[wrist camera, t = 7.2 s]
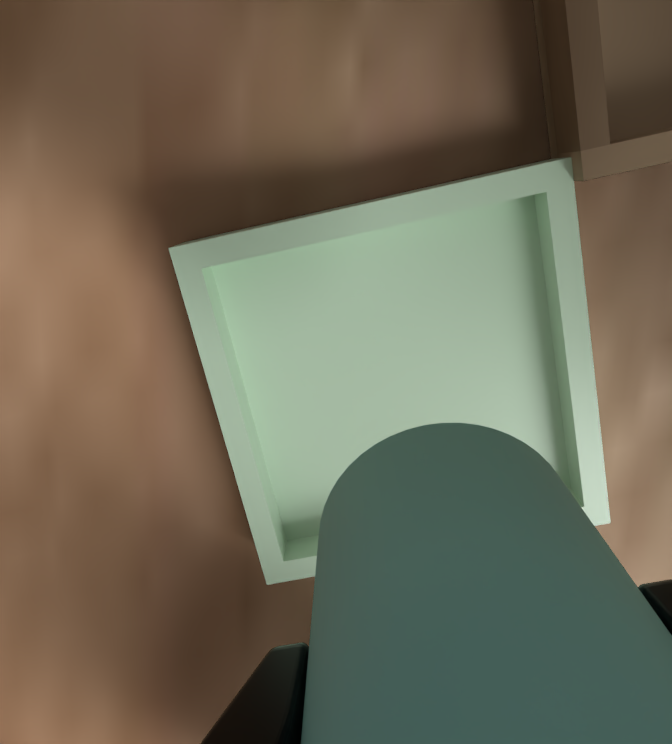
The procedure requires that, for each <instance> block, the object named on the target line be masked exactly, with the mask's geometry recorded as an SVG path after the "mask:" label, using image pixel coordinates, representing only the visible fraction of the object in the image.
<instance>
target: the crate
mask: <svg viewBox="0 0 672 744" xmlns="http://www.w3.org/2000/svg"><path fill="white" fill-rule="evenodd" d="M533 7H534V15H535V24H536V32H537V41H538V50H539V58H540V67H541V76H542V84H543V93H544V101H545V110H546V119H547V127H548V136H549V144H550V153H551V159H556V158H567V157H571V159H572V168H573V177H574V181H587V180H591V179H596V178H600V177H605V176H609V175H613V174H618V173H622V172H627V171H631V170H636V169H640V168H645V167H649V166H654V165H658V164H663V163H667V162H672V0H533Z"/></svg>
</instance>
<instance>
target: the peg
mask: <svg viewBox="0 0 672 744" xmlns="http://www.w3.org/2000/svg"><path fill="white" fill-rule="evenodd" d="M301 744H672V635H671V634H670V632H669V631H668V630H667V628H666V627H665V625H664V624H663V623H662V621H661V620H660V618H659V617H658V615H657V614H656V613H655V611H654V610H653V608H652V607H651V606H650V604H649V603H648V601H647V600H646V598H645V597H644V596H643V594H642V593H641V591H640V590H639V589H638V587H637V586H636V584H635V583H634V581H633V580H632V579H631V577H630V576H629V574H628V573H627V572H626V570H625V569H624V567H623V566H622V564H621V563H620V562H619V560H618V559H617V557H616V556H615V555H614V553H613V552H612V550H611V549H610V547H609V546H608V545H607V543H606V542H605V540H604V539H603V538H602V536H601V535H600V533H599V532H598V530H597V529H596V528H595V526H594V525H593V523H592V522H591V521H590V519H589V518H588V516H587V515H586V513H585V512H584V511H583V509H582V508H581V506H580V505H579V504H578V502H577V501H576V499H575V498H574V496H573V495H572V494H571V492H570V491H569V489H568V488H567V487H566V485H565V484H564V482H563V481H562V479H561V478H560V477H559V475H558V474H557V473H556V471H555V470H554V469H553V467H552V466H551V465H550V464H549V463H548V462H547V461H546V460H545V459H544V458H543V457H542V456H541V455H540V454H539V453H538V452H537V451H535V450H534V449H533V448H531V447H530V446H528V445H527V444H526V443H524V442H522V441H521V440H519V439H517V438H515V437H513V436H511V435H509V434H507V433H504V432H501V431H499V430H496V429H493V428H489V427H485V426H481V425H476V424H467V423H437V424H429V425H423V426H419V427H415V428H411V429H407V430H404V431H402V432H399V433H397V434H394V435H392V436H389V437H388V438H386V439H384V440H382V441H380V442H378V443H377V444H375V445H373V446H372V447H371V448H369V449H368V450H366V451H365V452H364V453H362V454H361V455H360V456H359V457H358V458H357V459H356V460H355V461H353V462H352V463H351V464H350V465H349V466H348V468H347V469H346V470H345V471H344V472H343V474H342V475H341V476H340V477H339V479H338V480H337V482H336V484H335V485H334V487H333V488H332V490H331V492H330V494H329V496H328V499H327V501H326V503H325V506H324V509H323V513H322V516H321V520H320V528H319V537H318V549H317V560H316V572H315V584H314V595H313V607H312V618H311V630H310V641H309V653H308V665H307V676H306V688H305V699H304V711H303V723H302V734H301Z"/></svg>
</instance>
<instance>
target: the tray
mask: <svg viewBox="0 0 672 744" xmlns="http://www.w3.org/2000/svg"><path fill="white" fill-rule="evenodd" d="M168 249H169V252H170V256H171V259H172V262H173V266H174V269H175V273H176V276H177V279H178V283H179V286H180V290H181V293H182V297H183V300H184V303H185V307H186V310H187V314H188V317H189V321H190V324H191V327H192V331H193V334H194V338H195V341H196V344H197V348H198V351H199V355H200V358H201V362H202V365H203V368H204V372H205V375H206V379H207V382H208V385H209V389H210V392H211V396H212V399H213V403H214V406H215V409H216V413H217V416H218V420H219V423H220V426H221V430H222V433H223V437H224V440H225V444H226V447H227V450H228V454H229V457H230V461H231V464H232V467H233V471H234V474H235V478H236V481H237V485H238V488H239V491H240V495H241V498H242V502H243V505H244V509H245V512H246V515H247V519H248V522H249V526H250V529H251V532H252V536H253V539H254V543H255V546H256V550H257V553H258V556H259V560H260V563H261V567H262V570H263V573H264V577H265V580H266V584H267V585H270V584H275V583H281V582H286V581H292V580H297V579H303V578H309V577H314V576H315V572H316V560H317V549H318V537H319V528H320V520H321V516H322V513H323V509H324V506H325V503H326V501H327V499H328V496H329V494H330V492H331V490H332V488H333V487H334V485H335V484H336V482H337V480H338V479H339V477H340V476H341V475H342V474H343V472H344V471H345V470H346V469H347V468H348V466H349V465H350V464H351V463H352V462H353V461H355V460H356V459H357V458H358V457H359V456H360V455H361V454H362V453H364V452H365V451H366V450H368V449H369V448H371V447H372V446H373V445H375V444H377V443H378V442H380V441H382V440H384V439H386V438H388V437H389V436H392V435H394V434H397V433H399V432H402V431H404V430H407V429H411V428H415V427H419V426H423V425H429V424H437V423H467V424H476V425H481V426H485V427H489V428H493V429H496V430H499V431H501V432H504V433H507V434H509V435H511V436H513V437H515V438H517V439H519V440H521V441H522V442H524V443H526V444H527V445H528V446H530V447H531V448H533V449H534V450H535V451H537V452H538V453H539V454H540V455H541V456H542V457H543V458H544V459H545V460H546V461H547V462H548V463H549V464H550V465H551V466H552V467H553V469H554V470H555V471H556V473H557V474H558V475H559V477H560V478H561V479H562V481H563V482H564V484H565V485H566V487H567V488H568V489H569V491H570V492H571V494H572V495H573V496H574V498H575V499H576V501H577V502H578V504H579V505H580V506H581V508H582V509H583V511H584V512H585V513H586V515H587V516H588V518H589V519H590V521H591V522H592V523H593V525H594V526H597V525H603V524H608V523H611V522H610V513H609V503H608V494H607V485H606V475H605V466H604V457H603V447H602V438H601V429H600V420H599V410H598V401H597V392H596V382H595V373H594V364H593V354H592V345H591V336H590V326H589V317H588V308H587V298H586V289H585V280H584V271H583V261H582V252H581V243H580V233H579V224H578V215H577V205H576V196H575V187H574V177H573V168H572V159H571V157H567V158H556V159H549V160H544V161H540V162H536V163H531V164H527V165H522V166H518V167H513V168H509V169H505V170H500V171H496V172H491V173H487V174H483V175H478V176H474V177H469V178H465V179H460V180H456V181H452V182H447V183H443V184H438V185H434V186H430V187H425V188H421V189H416V190H412V191H408V192H403V193H399V194H394V195H390V196H385V197H381V198H377V199H372V200H368V201H363V202H359V203H355V204H350V205H346V206H341V207H337V208H333V209H328V210H324V211H319V212H315V213H310V214H306V215H302V216H297V217H293V218H288V219H284V220H280V221H275V222H271V223H266V224H262V225H258V226H253V227H249V228H244V229H240V230H235V231H231V232H227V233H222V234H218V235H213V236H209V237H205V238H200V239H196V240H191V241H187V242H183V243H180V244H178V245H175V246H173V247H170V248H168Z"/></svg>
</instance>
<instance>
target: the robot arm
mask: <svg viewBox="0 0 672 744" xmlns="http://www.w3.org/2000/svg"><path fill="white" fill-rule="evenodd" d="M638 589H639V590H640V591H641V593H642V594H643V596H644V597H645V598H646V600H647V601H648V603H649V604H650V606H651V607H652V608H653V610H654V611H655V613H656V614H657V615H658V617H659V618H660V620H661V621H662V623H663V624H664V625H665V627H666V628H667V630H668V631H669V632H670V634H671V635H672V580H664V581H659V582H653V583H647V584H642V585H640V586H639V587H638ZM308 653H309V646H308V645H307V644H305V643H296V644H290V645H284V646H278V647H275V648H273V649H271V650H270V651H269V652H268V653H267V655H266V656H265V657H264V659H263V660H262V661H261V663H260V664H259V666H258V667H257V668H256V670H255V671H254V672H253V674H252V675H251V676H250V678H249V679H248V680H247V682H246V683H245V684H244V686H243V687H242V688H241V690H240V691H239V692H238V694H237V695H236V696H235V698H234V699H233V701H232V702H231V703H230V705H229V706H228V707H227V709H226V710H225V711H224V713H223V714H222V715H221V717H220V718H219V719H218V721H217V722H216V723H215V725H214V726H213V727H212V729H211V730H210V731H209V733H208V734H207V736H206V737H205V738H204V740H203V741H202V742H201V744H301V734H302V723H303V711H304V699H305V688H306V676H307V665H308Z"/></svg>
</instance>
